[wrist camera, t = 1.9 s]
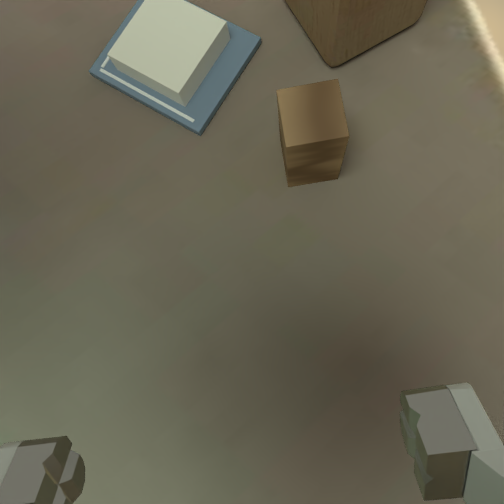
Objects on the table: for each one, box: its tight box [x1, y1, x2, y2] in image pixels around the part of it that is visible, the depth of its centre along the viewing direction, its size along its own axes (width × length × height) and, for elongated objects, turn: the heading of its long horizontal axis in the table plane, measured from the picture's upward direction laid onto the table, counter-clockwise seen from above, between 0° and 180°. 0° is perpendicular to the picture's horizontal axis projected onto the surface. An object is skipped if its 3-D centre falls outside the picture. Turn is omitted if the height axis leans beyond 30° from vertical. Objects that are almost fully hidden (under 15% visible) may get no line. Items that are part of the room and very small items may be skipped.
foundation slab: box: [107, 0, 230, 107], centre depth 42 cm, size 8×8×2 cm
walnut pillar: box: [277, 79, 349, 187], centre depth 37 cm, size 4×4×9 cm
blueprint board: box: [89, 0, 261, 136], centre depth 44 cm, size 13×11×1 cm
